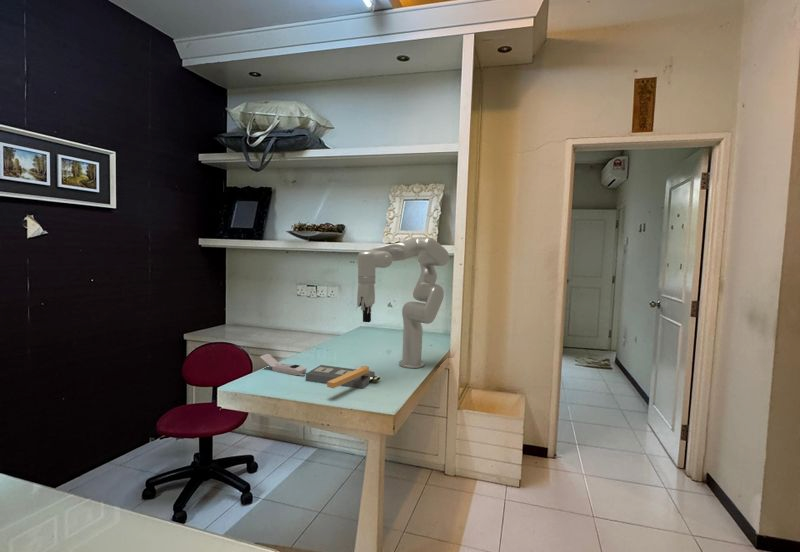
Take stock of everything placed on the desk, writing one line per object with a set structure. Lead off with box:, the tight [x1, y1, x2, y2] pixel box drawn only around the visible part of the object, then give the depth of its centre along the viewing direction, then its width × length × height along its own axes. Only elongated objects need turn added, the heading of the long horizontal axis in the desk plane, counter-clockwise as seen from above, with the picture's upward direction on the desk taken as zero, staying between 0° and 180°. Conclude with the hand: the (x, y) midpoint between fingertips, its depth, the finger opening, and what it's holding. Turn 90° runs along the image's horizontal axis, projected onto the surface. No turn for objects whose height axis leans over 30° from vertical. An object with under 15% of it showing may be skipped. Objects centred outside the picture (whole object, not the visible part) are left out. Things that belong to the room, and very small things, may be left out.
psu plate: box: [305, 364, 376, 390], centre depth 174 cm, size 14×26×4 cm, turn 74°
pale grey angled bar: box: [259, 353, 307, 377], centre depth 182 cm, size 6×6×25 cm
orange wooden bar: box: [326, 365, 370, 389], centre depth 161 cm, size 4×25×2 cm, turn 151°
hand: (366, 321), depth 176 cm, fingers closed
